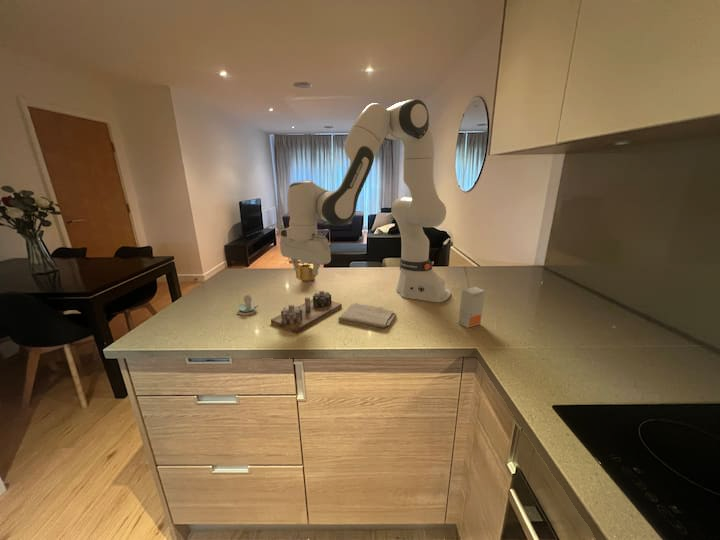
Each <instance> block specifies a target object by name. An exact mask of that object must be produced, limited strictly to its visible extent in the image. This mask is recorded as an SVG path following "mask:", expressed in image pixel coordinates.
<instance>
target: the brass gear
mask: <svg viewBox="0 0 720 540" xmlns="http://www.w3.org/2000/svg"><path fill="white" fill-rule="evenodd" d="M313 269H314V266H313V264H307V263H304V264H301V263H298V266H296V271H295V278H296V279H297V280H299V281H302V280H303V281H305V280H309V279H314V280H315V279H316V278H317V275H316V276H314V275H311V270H313Z"/></svg>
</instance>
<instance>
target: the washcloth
mask: <svg viewBox="0 0 720 540" xmlns="http://www.w3.org/2000/svg"><path fill="white" fill-rule="evenodd" d="M396 318H397V313H396V312H394V310H391V309H386V308H384V307H382V306H374V305H368V304H362V303H361V304H360V303H352V304H350V306H348V308H347V309H346V311H343V312H342V314H340V315H339V317H338V319H337V320H338V322H340V323H344V324H350V325H354V326H358V327H364V328H371V329H375V330H379V331H383V332H386V331H387V330H388V329H389V328H390V327H391V326H392V323H393V322H394V321H395V320H396Z"/></svg>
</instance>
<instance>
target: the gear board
mask: <svg viewBox="0 0 720 540" xmlns="http://www.w3.org/2000/svg"><path fill="white" fill-rule="evenodd" d="M342 305H343V304H342V303H340V302H336V301H333V300H332V294H331V293H330V292H328V291H326V292H325V290H319V291H318V292H315V293H314V294H313V295H312V299H311V297H310V296H306V297H304V303H302V304H300V305H297V306H295V305H294V304H288V306H287V307H286V306H285V307H283V309H281V310H280V314H279V315H277V316H275V317H273V318H271V319H270V323H271V324H272V325H274V326H276V327H279V328H281V329H284V330H286V331H289V332H291V333H295V334H296V335H297V334H298V333H301V332H302V331H304V330H306V329H307V328H309V327H311V326H312V325H314V324H316V323H318V322H319V321H321V320H322V319H325V318H326V317H328V316H330V315H331V314H334V313H335V312H336V311H338V310H341V309H342V307H343V306H342Z"/></svg>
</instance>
